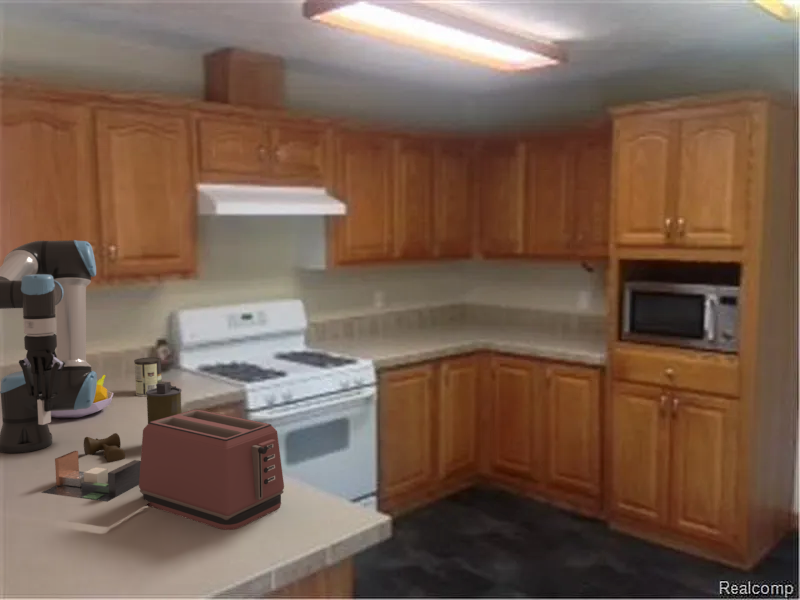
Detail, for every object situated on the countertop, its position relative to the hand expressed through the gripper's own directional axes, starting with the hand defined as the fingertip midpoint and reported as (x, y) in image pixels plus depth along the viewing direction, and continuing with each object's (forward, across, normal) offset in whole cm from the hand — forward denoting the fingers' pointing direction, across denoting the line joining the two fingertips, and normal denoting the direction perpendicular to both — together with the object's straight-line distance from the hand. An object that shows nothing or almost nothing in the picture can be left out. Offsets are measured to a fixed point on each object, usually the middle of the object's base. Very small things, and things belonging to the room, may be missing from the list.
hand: (44, 423), depth 185 cm
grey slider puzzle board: (+17, +15, 0) cm, 23 cm away
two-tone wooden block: (+15, +9, 0) cm, 18 cm away
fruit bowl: (+16, -45, +61) cm, 78 cm away
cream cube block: (+15, +15, 0) cm, 22 cm away
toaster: (+17, +50, +1) cm, 52 cm away
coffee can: (+16, -39, +94) cm, 103 cm away
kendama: (+17, -1, +24) cm, 29 cm away
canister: (+17, +10, +38) cm, 42 cm away
